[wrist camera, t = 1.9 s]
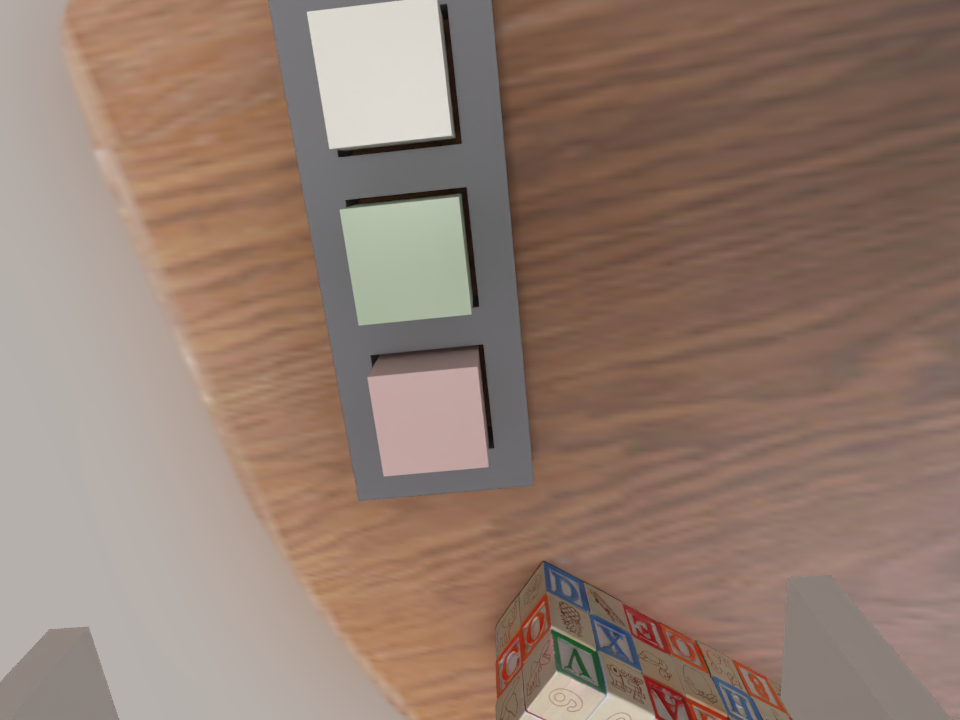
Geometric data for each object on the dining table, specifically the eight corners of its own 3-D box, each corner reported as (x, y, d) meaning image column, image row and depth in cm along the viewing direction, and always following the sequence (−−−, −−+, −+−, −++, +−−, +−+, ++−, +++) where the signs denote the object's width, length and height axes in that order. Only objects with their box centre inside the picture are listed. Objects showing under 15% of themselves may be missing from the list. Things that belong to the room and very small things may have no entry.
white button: (329, 31, 30) (306, 11, 26) (443, 17, 30) (436, -4, 26) (348, 150, 31) (329, 149, 28) (456, 138, 31) (451, 135, 27)
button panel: (282, -20, 31) (261, -39, 28) (485, -45, 30) (485, -66, 28) (368, 476, 39) (358, 500, 36) (530, 461, 38) (534, 485, 36)
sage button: (356, 204, 32) (339, 209, 28) (462, 192, 32) (458, 196, 28) (373, 307, 34) (358, 325, 30) (473, 297, 34) (471, 314, 30)
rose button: (380, 353, 35) (367, 377, 31) (478, 344, 34) (477, 366, 31) (394, 443, 36) (383, 476, 32) (488, 434, 36) (488, 466, 32)
